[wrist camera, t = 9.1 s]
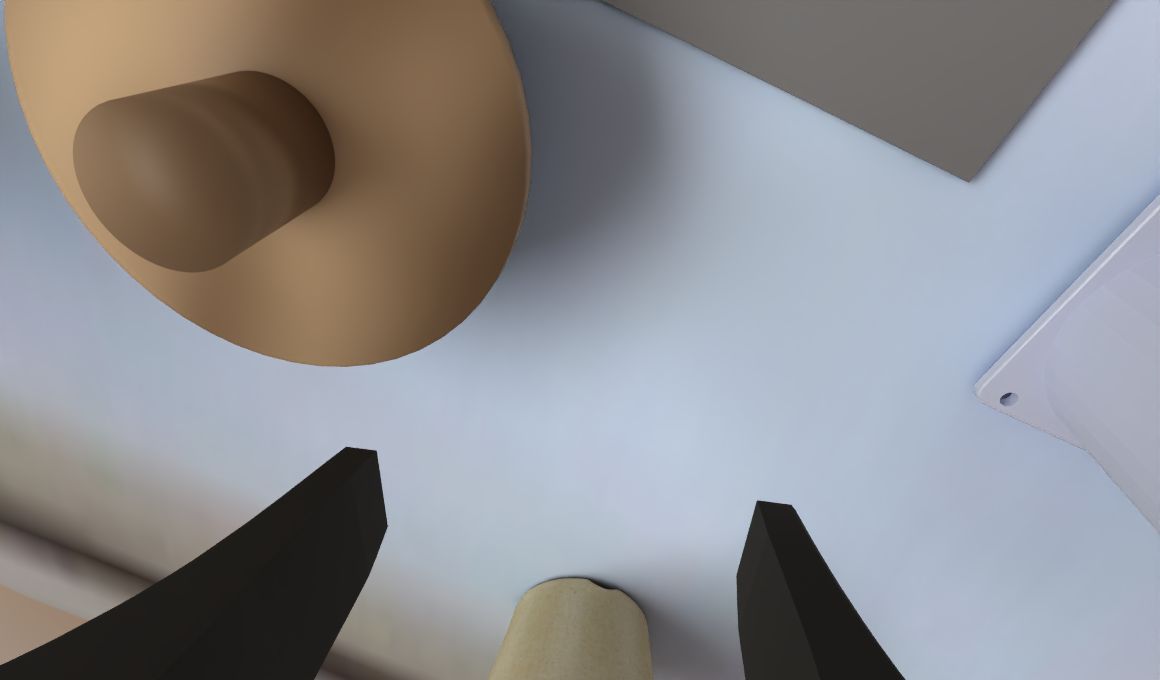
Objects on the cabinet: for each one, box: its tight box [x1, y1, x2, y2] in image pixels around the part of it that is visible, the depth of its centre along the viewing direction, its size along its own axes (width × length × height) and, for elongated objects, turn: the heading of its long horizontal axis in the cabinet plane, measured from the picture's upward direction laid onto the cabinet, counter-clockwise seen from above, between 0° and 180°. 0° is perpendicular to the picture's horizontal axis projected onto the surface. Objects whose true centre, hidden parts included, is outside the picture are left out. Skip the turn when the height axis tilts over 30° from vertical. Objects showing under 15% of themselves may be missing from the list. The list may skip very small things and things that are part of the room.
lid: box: [5, 0, 532, 367], centre depth 13 cm, size 12×12×4 cm
